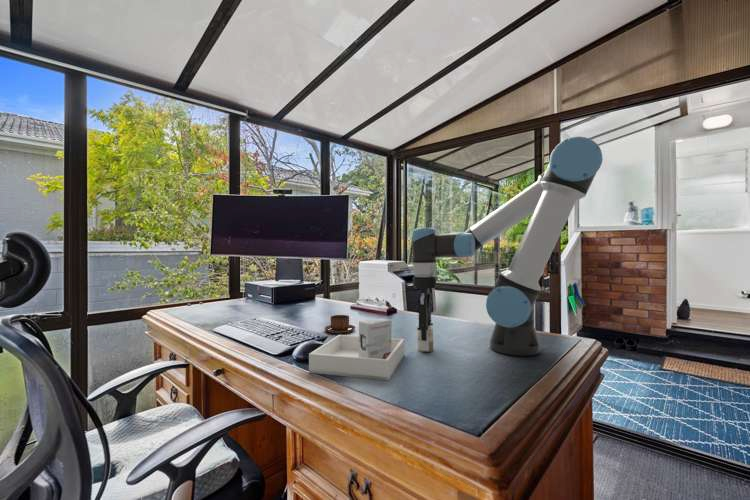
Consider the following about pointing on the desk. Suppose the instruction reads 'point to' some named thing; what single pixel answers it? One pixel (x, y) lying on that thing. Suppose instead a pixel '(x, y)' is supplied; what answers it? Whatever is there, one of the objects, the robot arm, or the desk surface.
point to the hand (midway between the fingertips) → (425, 347)
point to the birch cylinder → (429, 340)
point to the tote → (354, 359)
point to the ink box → (375, 338)
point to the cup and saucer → (339, 324)
